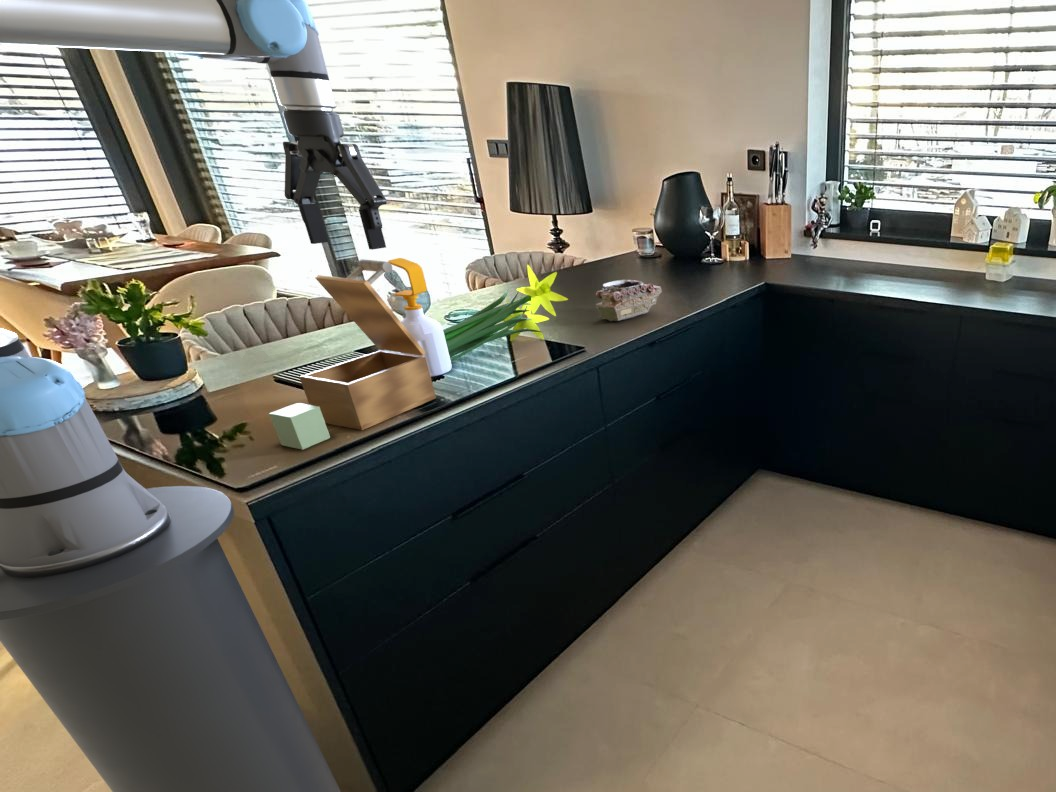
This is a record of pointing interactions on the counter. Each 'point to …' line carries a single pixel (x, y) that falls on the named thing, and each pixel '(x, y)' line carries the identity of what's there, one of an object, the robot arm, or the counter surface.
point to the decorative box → (626, 299)
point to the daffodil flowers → (503, 317)
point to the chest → (369, 388)
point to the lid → (371, 308)
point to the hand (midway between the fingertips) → (348, 245)
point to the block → (299, 425)
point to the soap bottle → (423, 321)
